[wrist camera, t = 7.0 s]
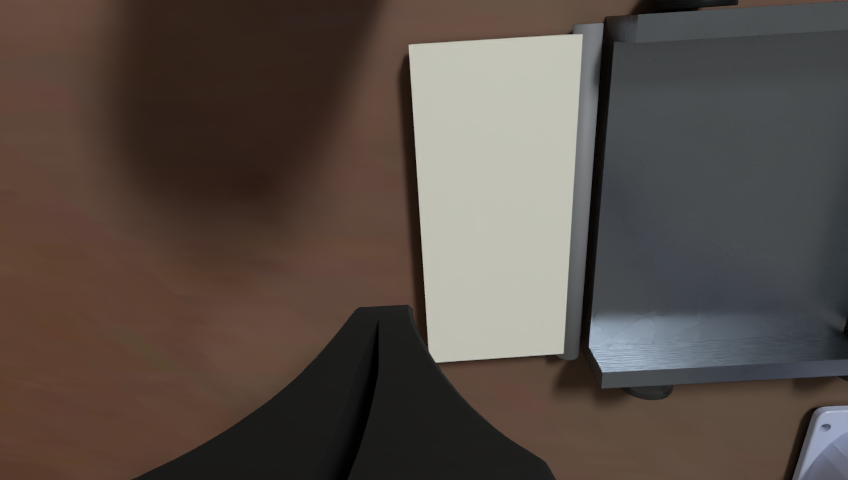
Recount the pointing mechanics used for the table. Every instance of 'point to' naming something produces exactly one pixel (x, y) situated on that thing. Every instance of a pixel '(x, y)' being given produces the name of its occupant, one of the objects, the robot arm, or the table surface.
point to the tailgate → (505, 190)
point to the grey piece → (719, 198)
